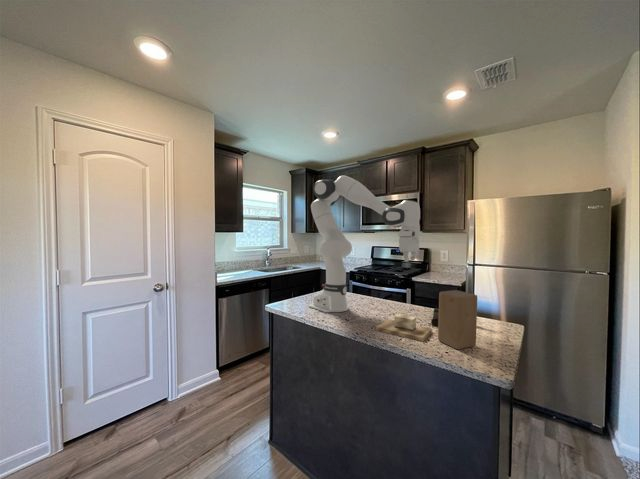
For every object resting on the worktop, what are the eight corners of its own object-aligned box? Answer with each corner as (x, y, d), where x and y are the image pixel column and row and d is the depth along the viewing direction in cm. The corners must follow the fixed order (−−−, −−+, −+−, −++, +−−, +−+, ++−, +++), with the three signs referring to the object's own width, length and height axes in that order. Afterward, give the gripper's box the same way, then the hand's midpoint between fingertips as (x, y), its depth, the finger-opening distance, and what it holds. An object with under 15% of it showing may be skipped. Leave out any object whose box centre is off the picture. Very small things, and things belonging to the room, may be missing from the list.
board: (376, 330, 120) (376, 326, 120) (387, 322, 131) (387, 319, 131) (423, 341, 108) (423, 337, 108) (431, 332, 119) (431, 328, 119)
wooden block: (458, 350, 100) (459, 296, 100) (436, 340, 109) (438, 291, 109) (477, 346, 104) (478, 294, 104) (454, 337, 113) (456, 289, 113)
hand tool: (440, 327, 125) (440, 317, 125) (431, 326, 127) (431, 316, 127) (442, 316, 142) (442, 307, 142) (433, 315, 144) (434, 306, 144)
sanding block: (394, 327, 120) (394, 316, 119) (397, 324, 123) (398, 313, 123) (412, 331, 115) (413, 319, 115) (415, 328, 119) (416, 317, 118)
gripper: (410, 232, 146) (409, 258, 146) (396, 232, 129) (396, 261, 130) (422, 233, 142) (422, 259, 142) (410, 232, 125) (409, 262, 126)
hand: (409, 260), depth 136 cm, fingers open, 8 cm apart
